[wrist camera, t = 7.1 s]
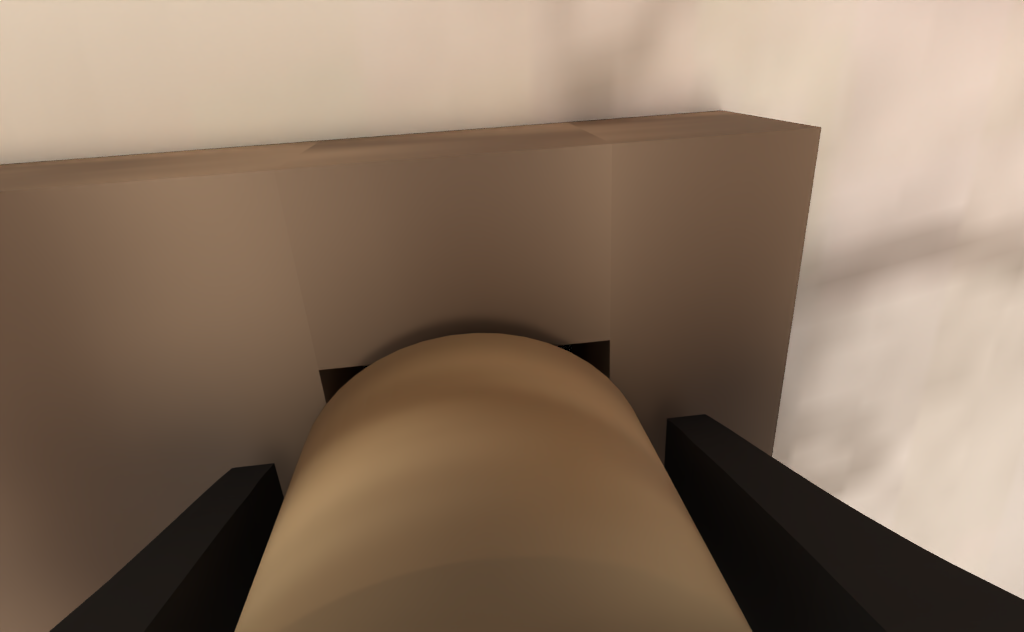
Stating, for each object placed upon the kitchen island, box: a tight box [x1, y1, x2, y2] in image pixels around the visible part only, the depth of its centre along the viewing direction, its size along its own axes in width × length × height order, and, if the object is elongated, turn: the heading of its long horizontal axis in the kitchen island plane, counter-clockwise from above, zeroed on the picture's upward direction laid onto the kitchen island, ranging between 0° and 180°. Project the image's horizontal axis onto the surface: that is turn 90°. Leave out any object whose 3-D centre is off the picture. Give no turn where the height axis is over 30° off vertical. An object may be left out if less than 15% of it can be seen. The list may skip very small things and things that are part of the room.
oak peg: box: [234, 332, 752, 632], centre depth 9 cm, size 5×5×8 cm
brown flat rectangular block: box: [0, 111, 821, 632], centre depth 11 cm, size 16×10×3 cm, turn 94°
